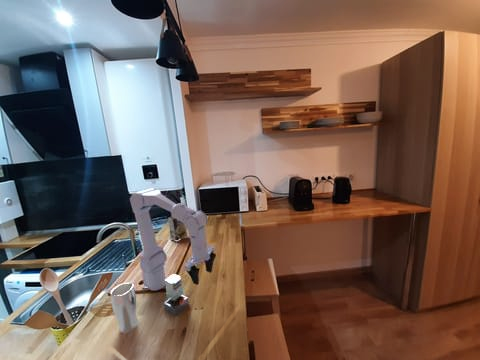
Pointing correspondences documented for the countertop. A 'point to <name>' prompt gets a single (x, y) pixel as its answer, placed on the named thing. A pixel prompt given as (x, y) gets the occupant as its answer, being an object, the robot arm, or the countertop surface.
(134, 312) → the white tall cup
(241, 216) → the countertop surface
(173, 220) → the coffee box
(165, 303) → the jack base
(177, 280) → the grooved grey block
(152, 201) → the robot arm
